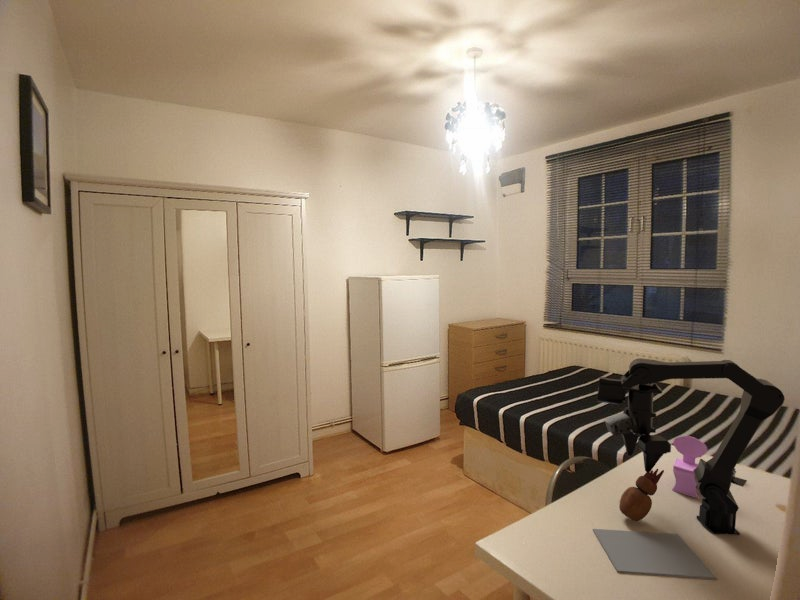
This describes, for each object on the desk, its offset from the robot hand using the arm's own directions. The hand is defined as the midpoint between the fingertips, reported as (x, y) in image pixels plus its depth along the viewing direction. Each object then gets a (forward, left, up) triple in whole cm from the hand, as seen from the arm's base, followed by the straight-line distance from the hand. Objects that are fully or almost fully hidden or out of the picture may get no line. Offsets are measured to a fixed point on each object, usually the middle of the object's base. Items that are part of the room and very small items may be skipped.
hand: (638, 463), depth 110 cm
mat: (+6, +18, -12) cm, 23 cm away
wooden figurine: (+5, +7, -11) cm, 14 cm away
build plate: (-36, -19, -13) cm, 43 cm away
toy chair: (-19, -11, -13) cm, 26 cm away
